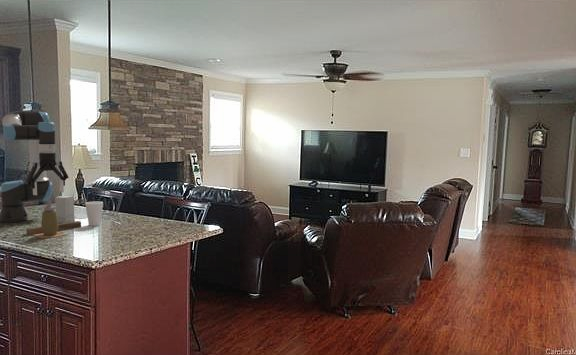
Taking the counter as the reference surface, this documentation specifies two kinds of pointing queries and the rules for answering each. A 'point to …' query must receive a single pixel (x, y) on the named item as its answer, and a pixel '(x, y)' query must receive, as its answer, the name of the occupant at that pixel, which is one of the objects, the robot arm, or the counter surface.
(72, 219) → the skincare box
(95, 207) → the foam cup
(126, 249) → the counter surface
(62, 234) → the rail
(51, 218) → the squeeze bottle
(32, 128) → the robot arm
